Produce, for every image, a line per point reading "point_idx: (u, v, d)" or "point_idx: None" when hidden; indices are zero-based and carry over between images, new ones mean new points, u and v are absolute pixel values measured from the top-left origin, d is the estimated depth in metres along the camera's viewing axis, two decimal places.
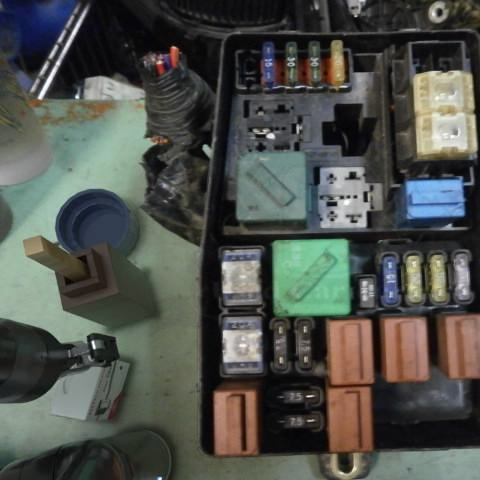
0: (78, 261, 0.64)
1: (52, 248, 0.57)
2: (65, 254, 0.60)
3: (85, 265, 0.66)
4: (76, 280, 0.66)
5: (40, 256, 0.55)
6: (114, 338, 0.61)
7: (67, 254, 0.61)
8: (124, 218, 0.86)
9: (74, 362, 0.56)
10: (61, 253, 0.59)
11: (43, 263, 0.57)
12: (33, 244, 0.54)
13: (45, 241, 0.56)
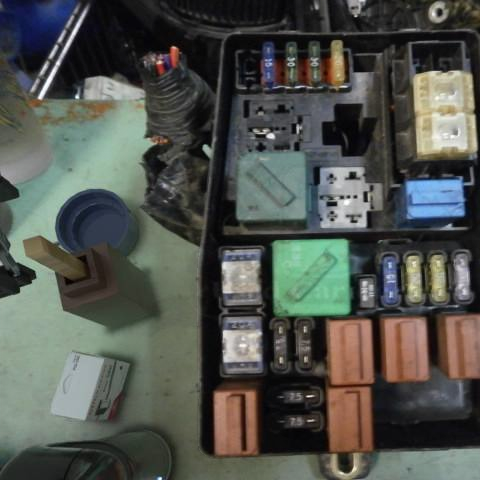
0: (78, 261, 0.64)
1: (52, 248, 0.57)
2: (65, 254, 0.60)
3: (85, 265, 0.66)
4: (76, 280, 0.66)
5: (40, 256, 0.55)
6: (13, 293, 0.45)
7: (67, 254, 0.61)
8: (124, 218, 0.86)
9: None
10: (61, 253, 0.59)
11: (43, 263, 0.57)
12: (33, 244, 0.54)
13: (45, 241, 0.56)
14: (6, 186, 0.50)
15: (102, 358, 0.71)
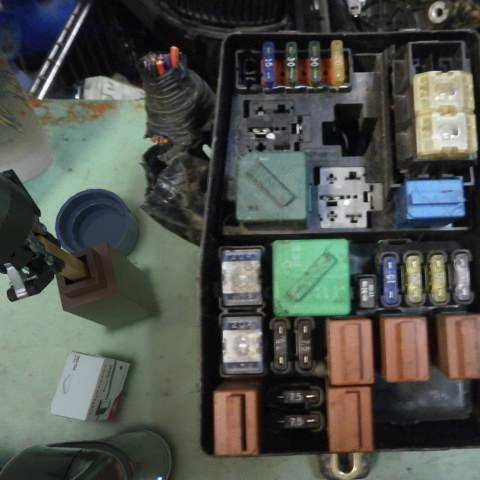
0: (78, 261, 0.64)
1: (52, 248, 0.57)
2: (65, 254, 0.60)
3: (85, 265, 0.66)
4: (76, 280, 0.66)
5: None
6: None
7: (67, 254, 0.61)
8: (124, 218, 0.86)
9: None
10: (61, 253, 0.59)
11: None
12: None
13: (45, 241, 0.56)
14: (51, 241, 0.57)
15: (102, 358, 0.71)
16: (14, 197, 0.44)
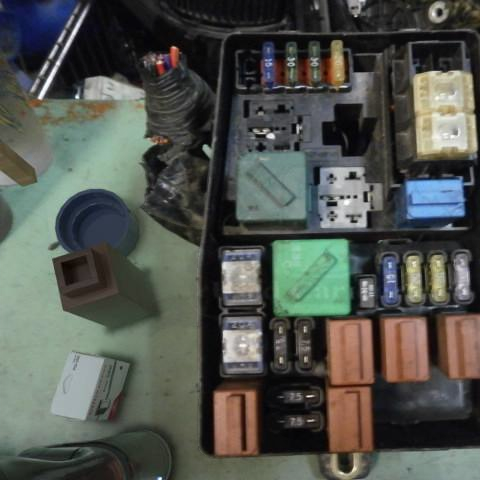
0: (17, 155, 0.57)
1: None
2: None
3: (27, 164, 0.60)
4: (16, 180, 0.59)
5: None
6: None
7: (1, 142, 0.54)
8: (124, 218, 0.86)
9: None
10: None
11: None
12: None
13: None
14: None
15: (102, 358, 0.71)
16: None
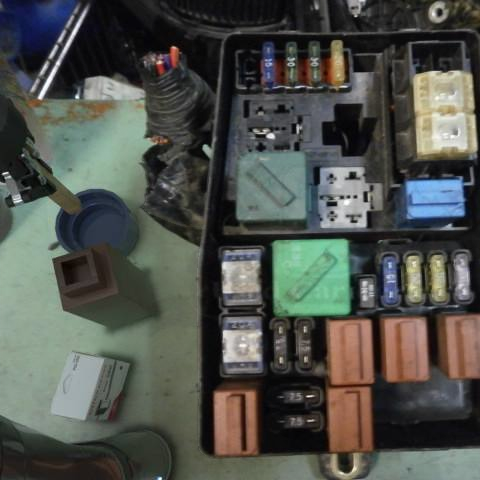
0: (68, 191, 0.72)
1: (44, 172, 0.65)
2: (56, 181, 0.69)
3: (75, 196, 0.75)
4: (67, 210, 0.74)
5: None
6: None
7: (58, 182, 0.69)
8: (124, 218, 0.86)
9: None
10: (53, 179, 0.67)
11: None
12: None
13: (38, 164, 0.64)
14: (43, 166, 0.65)
15: (102, 358, 0.71)
16: (11, 111, 0.52)
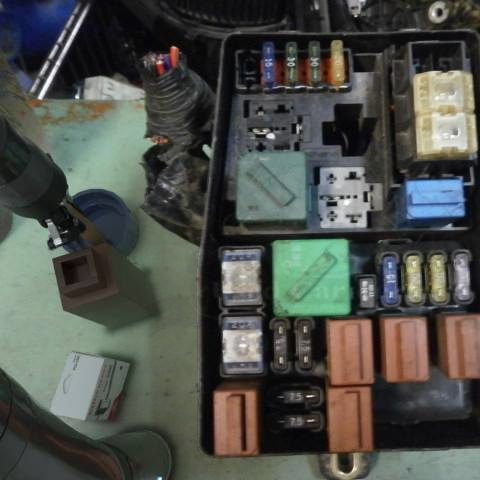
0: (95, 227, 0.82)
1: (77, 214, 0.75)
2: (85, 220, 0.78)
3: (100, 231, 0.84)
4: (93, 243, 0.84)
5: None
6: (77, 236, 0.71)
7: (87, 220, 0.79)
8: (124, 218, 0.86)
9: (41, 225, 0.66)
10: (83, 219, 0.77)
11: None
12: None
13: (72, 208, 0.73)
14: (76, 208, 0.75)
15: (102, 358, 0.71)
16: (55, 170, 0.62)
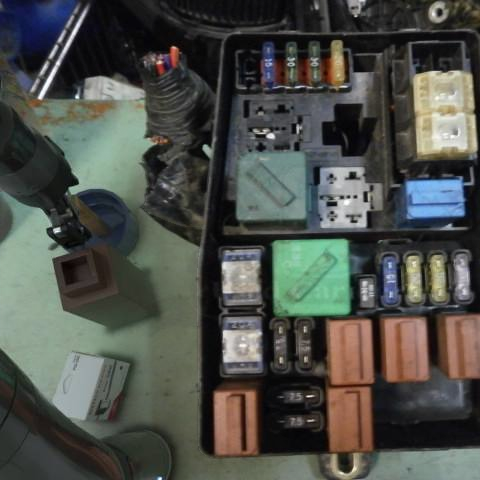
0: (99, 218, 0.84)
1: (82, 205, 0.77)
2: (90, 211, 0.80)
3: (104, 223, 0.86)
4: (97, 234, 0.86)
5: None
6: (81, 243, 0.71)
7: (92, 212, 0.81)
8: (124, 218, 0.86)
9: None
10: (88, 210, 0.79)
11: None
12: None
13: (77, 199, 0.75)
14: (72, 177, 0.76)
15: (102, 358, 0.71)
16: (60, 160, 0.63)
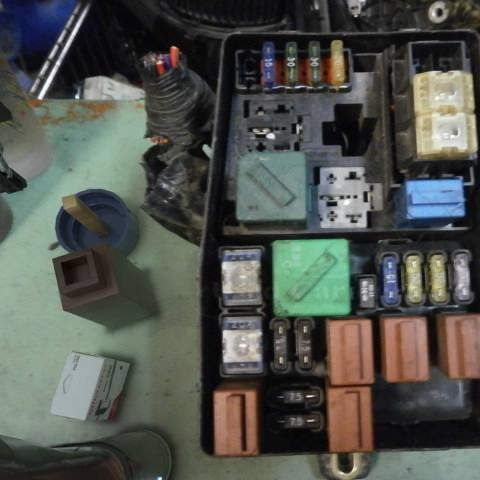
0: (99, 218, 0.84)
1: (82, 205, 0.77)
2: (90, 211, 0.80)
3: (104, 223, 0.86)
4: (97, 234, 0.86)
5: (74, 209, 0.75)
6: (6, 189, 0.52)
7: (92, 212, 0.81)
8: (124, 218, 0.86)
9: None
10: (88, 210, 0.79)
11: (75, 217, 0.77)
12: (69, 201, 0.74)
13: (77, 199, 0.75)
14: (1, 106, 0.58)
15: (102, 358, 0.71)
16: None
